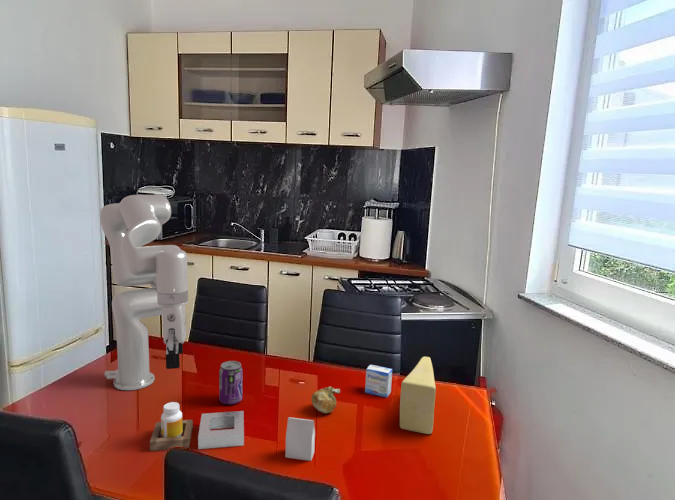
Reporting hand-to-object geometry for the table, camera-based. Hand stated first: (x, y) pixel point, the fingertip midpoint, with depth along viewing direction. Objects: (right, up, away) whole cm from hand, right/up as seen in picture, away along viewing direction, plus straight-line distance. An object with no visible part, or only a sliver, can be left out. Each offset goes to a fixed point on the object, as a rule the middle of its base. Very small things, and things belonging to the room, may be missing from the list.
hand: (174, 360), depth 121 cm
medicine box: (+56, -19, +33) cm, 68 cm away
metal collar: (+11, -22, +5) cm, 25 cm away
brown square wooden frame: (-2, -22, +3) cm, 22 cm away
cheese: (+68, -22, +21) cm, 74 cm away
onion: (+39, -20, +20) cm, 48 cm away
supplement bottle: (-2, -22, +3) cm, 22 cm away
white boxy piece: (+33, -24, -2) cm, 41 cm away
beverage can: (+9, -19, +24) cm, 32 cm away
